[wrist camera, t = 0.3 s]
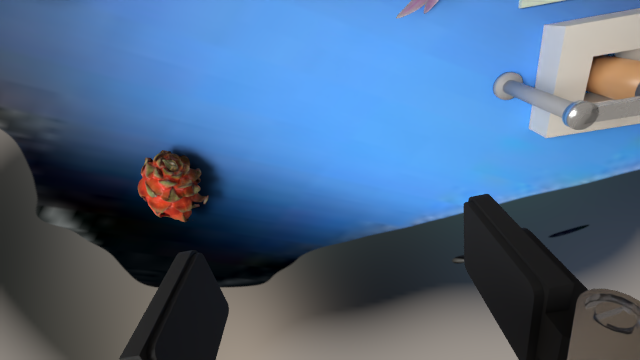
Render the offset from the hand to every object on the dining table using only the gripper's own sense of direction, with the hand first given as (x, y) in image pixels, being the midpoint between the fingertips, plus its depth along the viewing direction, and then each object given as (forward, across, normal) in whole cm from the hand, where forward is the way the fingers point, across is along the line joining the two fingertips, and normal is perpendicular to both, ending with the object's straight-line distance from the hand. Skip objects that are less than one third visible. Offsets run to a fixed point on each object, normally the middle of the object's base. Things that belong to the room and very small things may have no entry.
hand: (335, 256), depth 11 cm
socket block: (+36, -33, +8) cm, 50 cm away
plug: (+36, -36, +8) cm, 52 cm away
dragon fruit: (+36, +24, +10) cm, 45 cm away
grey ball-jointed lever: (+23, -31, +7) cm, 39 cm away
